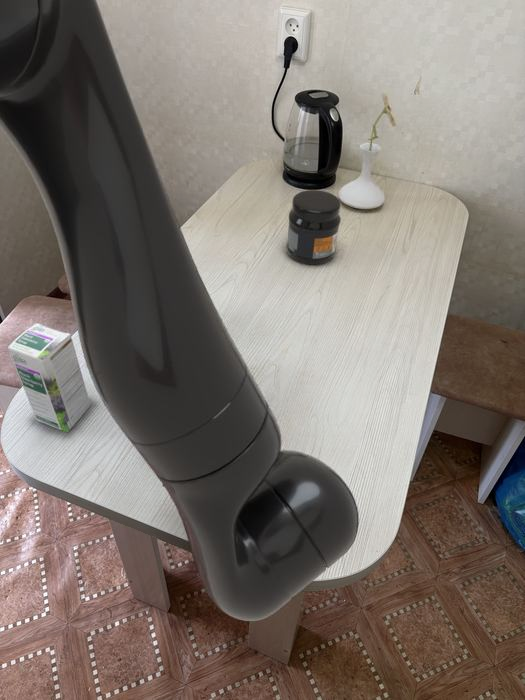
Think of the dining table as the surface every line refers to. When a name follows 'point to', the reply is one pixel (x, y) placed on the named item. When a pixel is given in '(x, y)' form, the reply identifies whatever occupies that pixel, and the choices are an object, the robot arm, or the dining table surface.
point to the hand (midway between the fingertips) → (206, 450)
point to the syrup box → (50, 376)
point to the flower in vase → (367, 173)
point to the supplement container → (313, 226)
